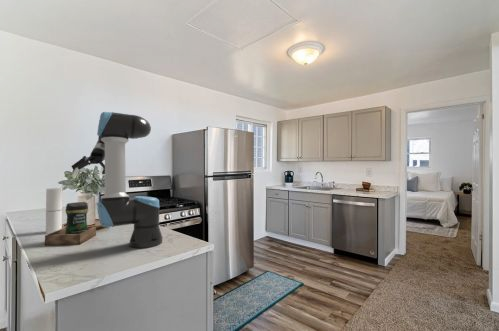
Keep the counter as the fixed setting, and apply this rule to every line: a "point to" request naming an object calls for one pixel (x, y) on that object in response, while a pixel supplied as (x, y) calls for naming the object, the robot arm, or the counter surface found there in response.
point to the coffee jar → (76, 217)
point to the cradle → (69, 237)
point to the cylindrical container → (53, 210)
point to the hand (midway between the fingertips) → (86, 177)
